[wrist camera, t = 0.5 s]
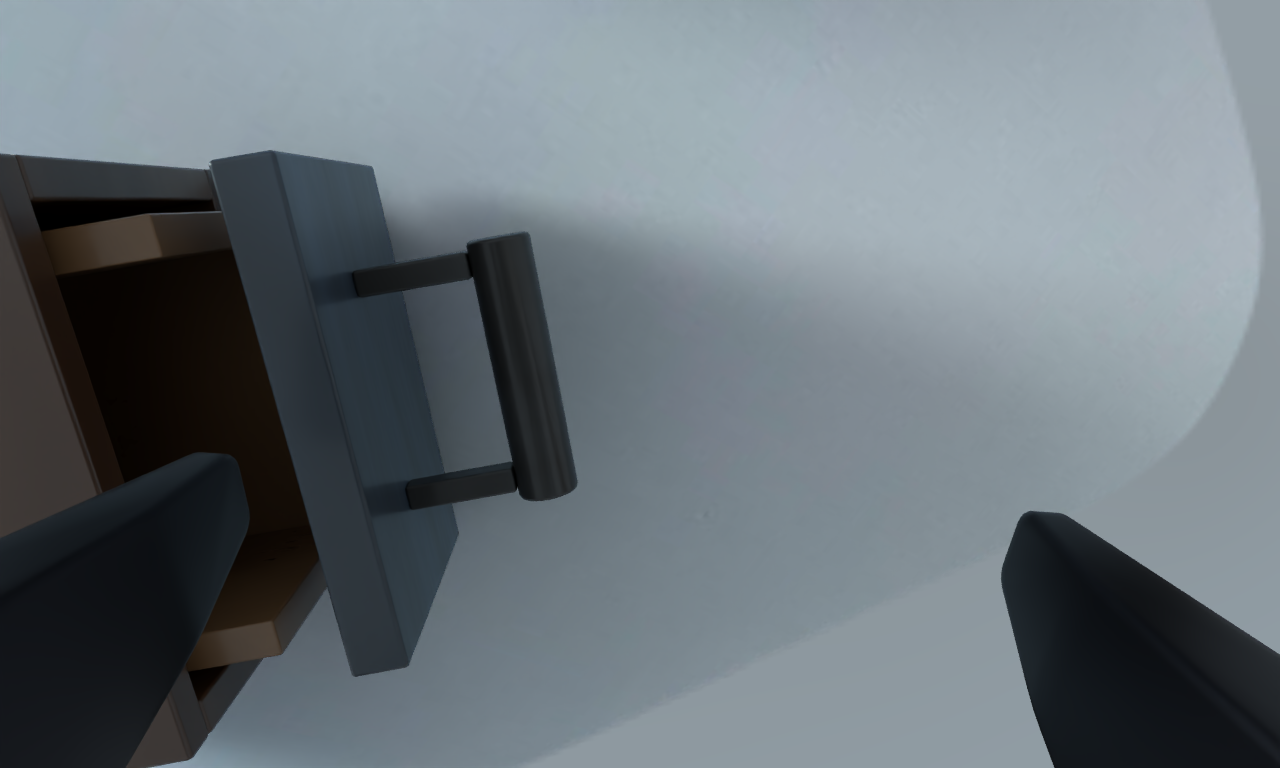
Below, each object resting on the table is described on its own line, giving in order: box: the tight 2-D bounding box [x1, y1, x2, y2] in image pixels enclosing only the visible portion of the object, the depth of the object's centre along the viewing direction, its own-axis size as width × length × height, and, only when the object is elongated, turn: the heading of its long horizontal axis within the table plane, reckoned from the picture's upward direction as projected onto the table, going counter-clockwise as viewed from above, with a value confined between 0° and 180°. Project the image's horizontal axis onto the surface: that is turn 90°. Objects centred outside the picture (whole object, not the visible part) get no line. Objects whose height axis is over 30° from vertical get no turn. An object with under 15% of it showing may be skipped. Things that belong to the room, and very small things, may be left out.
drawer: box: [41, 150, 578, 677], centre depth 19 cm, size 16×10×7 cm, turn 100°
